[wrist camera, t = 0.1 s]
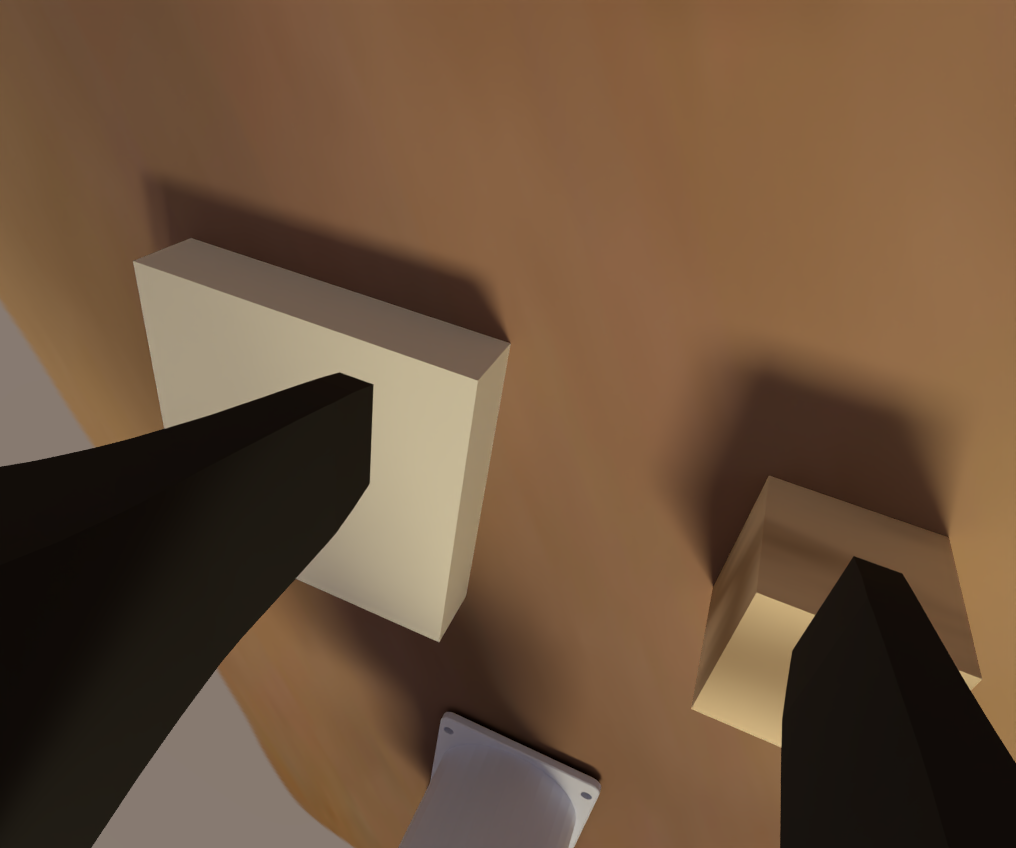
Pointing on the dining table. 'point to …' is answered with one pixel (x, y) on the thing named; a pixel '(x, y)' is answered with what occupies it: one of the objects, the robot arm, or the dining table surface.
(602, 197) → the dining table surface
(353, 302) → the beige block
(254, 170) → the dining table surface
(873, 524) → the maple cube
